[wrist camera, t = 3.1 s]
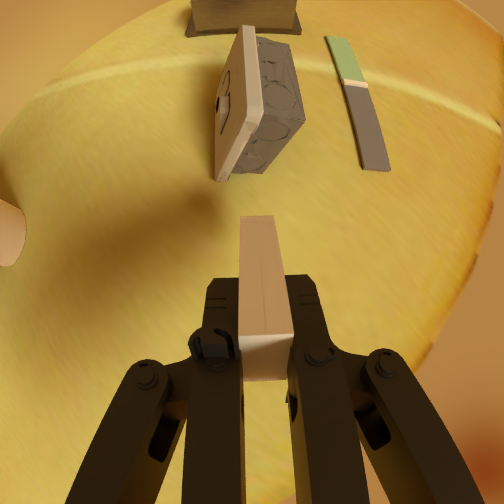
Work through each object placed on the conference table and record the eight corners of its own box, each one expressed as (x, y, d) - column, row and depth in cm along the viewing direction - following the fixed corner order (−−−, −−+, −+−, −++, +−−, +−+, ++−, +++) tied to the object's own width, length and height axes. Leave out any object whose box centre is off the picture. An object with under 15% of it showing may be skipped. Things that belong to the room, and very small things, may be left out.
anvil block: (187, 37, 21) (180, 3, 17) (192, 16, 22) (187, -15, 17) (300, 35, 22) (307, 0, 17) (294, 14, 22) (299, -17, 17)
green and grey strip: (362, 169, 19) (366, 165, 18) (325, 37, 22) (327, 33, 21) (388, 171, 19) (392, 168, 18) (346, 41, 22) (347, 36, 21)
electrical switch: (215, 98, 20) (216, 20, 12) (270, 99, 21) (290, 25, 12) (214, 187, 19) (212, 116, 11) (279, 186, 19) (314, 120, 11)
